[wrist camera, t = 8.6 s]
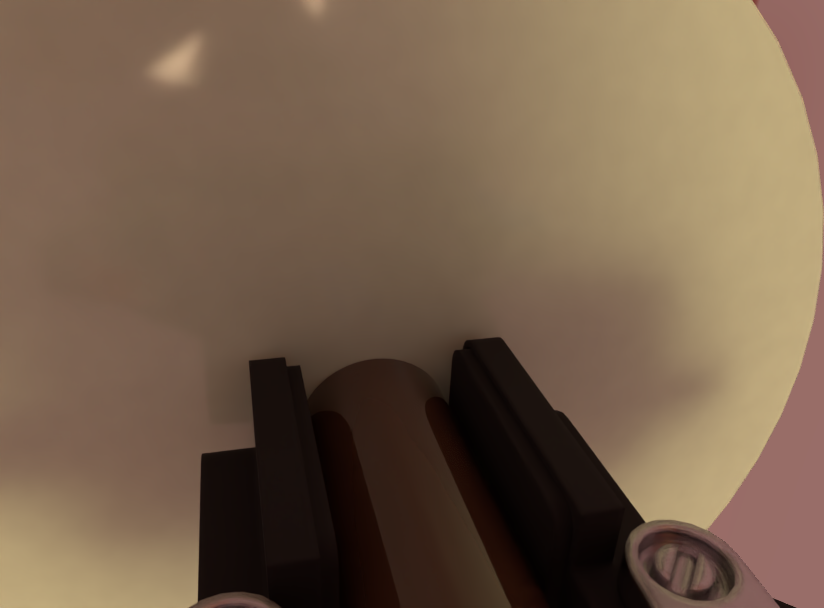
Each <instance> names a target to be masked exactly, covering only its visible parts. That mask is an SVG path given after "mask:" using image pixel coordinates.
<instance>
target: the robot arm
mask: <svg viewBox="0 0 824 608" xmlns="http://www.w3.org/2000/svg"><path fill="white" fill-rule="evenodd" d="M249 371H250V384H251V397H252V410H253V423H254V436H255V447H252V448H244V449H236V450H227V451H219V452H211V453H203V454H202V455H201V477H200V521H199V566H198V602H197V603H195V604H194V605H192V606H190V607H189V608H340V600H339V562H338V552H337V544H336V537H335V532H334V527H333V522H332V517H331V512H330V508H329V503H328V498H327V493H326V488H325V483H324V479H323V474H322V469H321V464H320V459H319V454H318V449H317V445H316V440H315V435H314V430H313V425H312V420H311V415H310V411H309V406H308V401H307V396H306V391H305V386H304V381H303V377H302V372H301V367H300V365H296V366H287V365H286V360H285V357H281V358H270V359H260V360H249ZM449 407H450V409H451V411H452V413H453V415H454V417H455V419H456V421H457V423H458V425H459V427H460V429H461V431H462V433H463V435H464V437H465V439H466V441H467V443H468V445H469V447H470V449H471V451H472V453H473V455H474V457H475V459H476V461H477V463H478V465H479V467H480V469H481V471H482V473H483V475H484V476H485V478H486V480H487V482H488V484H489V486H490V488H491V490H492V492H493V494H494V496H495V498H496V500H497V502H498V504H499V506H500V508H501V510H502V512H503V514H504V516H505V518H506V520H507V522H508V524H509V526H510V528H511V530H512V532H513V534H514V536H515V538H516V540H517V542H518V544H519V545H520V547H521V549H522V551H523V553H524V555H525V557H526V559H527V561H528V563H529V565H530V567H531V569H532V571H533V573H534V575H535V577H536V579H537V581H538V583H539V585H540V587H541V589H542V591H543V593H544V595H545V597H546V599H547V601H548V603H549V605H550V607H551V608H796V607H793V606H791V605H788V604H786V603H783V602H781V601H779V600H776V599H774V598H772V597H771V596H770V594H769V593H768V592H767V590H766V589H765V588H764V587H763V586H762V584H761V583H760V582H759V580H758V579H757V578H756V577H755V575H754V574H753V573H752V572H751V570H750V569H749V568H748V567H747V565H746V564H745V563H744V562H743V560H742V559H741V558H740V556H739V555H738V554H737V553H736V552H735V551H734V550H733V549H732V548H731V547H730V546H729V545H728V544H727V543H726V542H725V541H723V540H722V539H720V538H719V537H717V536H716V535H714V534H712V533H711V532H709V531H707V530H705V529H703V528H700V527H698V526H695V525H693V524H690V523H686V522H681V521H676V520H654V521H650V522H645V521H644V519H643V518H642V517H641V515H640V514H639V513H638V511H637V510H636V509H635V507H634V506H633V505H632V503H631V502H630V501H629V499H628V498H627V497H626V495H625V494H624V492H623V491H622V490H621V488H620V487H619V486H618V484H617V483H616V482H615V480H614V479H613V478H612V476H611V475H610V474H609V472H608V471H607V470H606V468H605V467H604V466H603V464H602V463H601V461H600V460H599V459H598V457H597V456H596V455H595V453H594V452H593V451H592V449H591V448H590V447H589V445H588V444H587V443H586V441H585V440H584V439H583V437H582V436H581V435H580V433H579V432H578V430H577V429H576V428H575V426H574V425H573V424H572V422H571V421H570V420H569V418H568V417H567V416H566V415H565V414H564V413H563V412H561V411H558V410H554V409H553V408H552V406H551V405H550V403H549V402H548V401H547V399H546V398H545V397H544V395H543V394H542V392H541V391H540V390H539V388H538V387H537V386H536V384H535V383H534V381H533V380H532V379H531V377H530V376H529V374H528V373H527V372H526V370H525V369H524V368H523V366H522V365H521V363H520V362H519V361H518V359H517V358H516V357H515V355H514V354H513V352H512V351H511V350H510V348H509V347H508V346H507V344H506V343H505V341H504V340H503V339H502V338H501V337H494V338H484V339H473V340H466V341H465V343H464V345H463V349H461V350H455V351H454V353H453V356H452V367H451V380H450V393H449Z"/></svg>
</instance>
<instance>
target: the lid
mask: <svg viewBox="0 0 824 608" xmlns="http://www.w3.org/2000/svg"><path fill="white" fill-rule="evenodd" d="M823 223H824V209H823V201H822V191H821V182H820V173H819V164H818V155H817V152H816V148H815V144H814V140H813V136H812V132H811V128H810V125H809V121H808V117H807V113H806V109H805V105H804V101H803V98H802V95H801V93H800V91H799V88H798V86H797V84H796V81H795V79H794V77H793V74H792V72H791V70H790V68H789V65H788V63H787V61H786V58H785V56H784V54H783V51H782V49H781V47H780V44H779V42H778V40H777V38H776V37H775V35H774V34H773V32H772V31H771V29H770V27H769V26H768V24H767V23H766V21H765V20H764V18H763V16H762V15H761V13H760V12H759V10H758V9H757V7H756V5H755V4H754V2H753V1H752V0H0V608H189V607H190V606H192V605H194V604H195V603H197V602H198V566H199V521H200V477H201V455H202V454H203V453H211V452H219V451H227V450H236V449H244V448H252V447H255V436H254V423H253V410H252V397H251V384H250V371H249V360H260V359H270V358H281V357H285V360H286V365H287V366H296V365H300V367H301V372H302V377H303V381H304V386H305V391H306V396H307V401H308V406H309V411H310V415H311V420H312V425H313V430H314V435H315V440H316V445H317V449H318V454H319V459H320V464H321V469H322V474H323V479H324V483H325V488H326V493H327V498H328V503H329V508H330V512H331V517H332V522H333V527H334V532H335V537H336V544H337V552H338V562H339V600H340V608H551V607H550V605H549V603H548V601H547V599H546V597H545V595H544V593H543V591H542V589H541V587H540V585H539V583H538V581H537V579H536V577H535V575H534V573H533V571H532V569H531V567H530V565H529V563H528V561H527V559H526V557H525V555H524V553H523V551H522V549H521V547H520V545H519V544H518V542H517V540H516V538H515V536H514V534H513V532H512V530H511V528H510V526H509V524H508V522H507V520H506V518H505V516H504V514H503V512H502V510H501V508H500V506H499V504H498V502H497V500H496V498H495V496H494V494H493V492H492V490H491V488H490V486H489V484H488V482H487V480H486V478H485V476H484V475H483V473H482V471H481V469H480V467H479V465H478V463H477V461H476V459H475V457H474V455H473V453H472V451H471V449H470V447H469V445H468V443H467V441H466V439H465V437H464V435H463V433H462V431H461V429H460V427H459V425H458V423H457V421H456V419H455V417H454V415H453V413H452V411H451V409H450V407H449V393H450V380H451V367H452V356H453V353H454V351H455V350H461V349H463V345H464V343H465V341H466V340H473V339H484V338H494V337H501V338H502V339H503V340H504V341H505V343H506V344H507V346H508V347H509V348H510V350H511V351H512V352H513V354H514V355H515V357H516V358H517V359H518V361H519V362H520V363H521V365H522V366H523V368H524V369H525V370H526V372H527V373H528V374H529V376H530V377H531V379H532V380H533V381H534V383H535V384H536V386H537V387H538V388H539V390H540V391H541V392H542V394H543V395H544V397H545V398H546V399H547V401H548V402H549V403H550V405H551V406H552V408H553V409H554V410H558V411H561V412H563V413H564V414H565V415H566V416H567V417H568V418H569V420H570V421H571V422H572V424H573V425H574V426H575V428H576V429H577V430H578V432H579V433H580V435H581V436H582V437H583V439H584V440H585V441H586V443H587V444H588V445H589V447H590V448H591V449H592V451H593V452H594V453H595V455H596V456H597V457H598V459H599V460H600V461H601V463H602V464H603V466H604V467H605V468H606V470H607V471H608V472H609V474H610V475H611V476H612V478H613V479H614V480H615V482H616V483H617V484H618V486H619V487H620V488H621V490H622V491H623V492H624V494H625V495H626V497H627V498H628V499H629V501H630V502H631V503H632V505H633V506H634V507H635V509H636V510H637V511H638V513H639V514H640V515H641V517H642V518H643V519H644V521H645V522H650V521H654V520H676V521H681V522H686V523H690V524H693V525H695V526H698V527H700V528H703V529H705V530H707V529H708V528H709V527H710V526H711V524H712V523H713V522H714V521H715V519H716V518H717V517H718V516H719V514H720V513H721V512H722V511H723V510H724V508H725V507H726V506H727V505H728V503H729V502H730V501H731V499H732V498H733V496H734V494H735V493H736V492H737V490H738V489H739V487H740V486H741V484H742V483H743V481H744V480H745V478H746V477H747V475H748V474H749V472H750V471H751V469H752V468H753V466H754V465H755V463H756V462H757V460H758V458H759V456H760V455H761V453H762V451H763V449H764V447H765V445H766V443H767V441H768V440H769V438H770V436H771V434H772V432H773V430H774V428H775V426H776V424H777V423H778V421H779V419H780V417H781V415H782V412H783V410H784V407H785V405H786V403H787V400H788V397H789V395H790V392H791V390H792V388H793V385H794V383H795V380H796V378H797V375H798V373H799V370H800V367H801V364H802V360H803V357H804V353H805V349H806V346H807V342H808V339H809V335H810V332H811V328H812V325H813V321H814V317H815V310H816V304H817V296H818V291H819V285H820V278H821V272H822V260H823V258H822V257H823Z"/></svg>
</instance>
